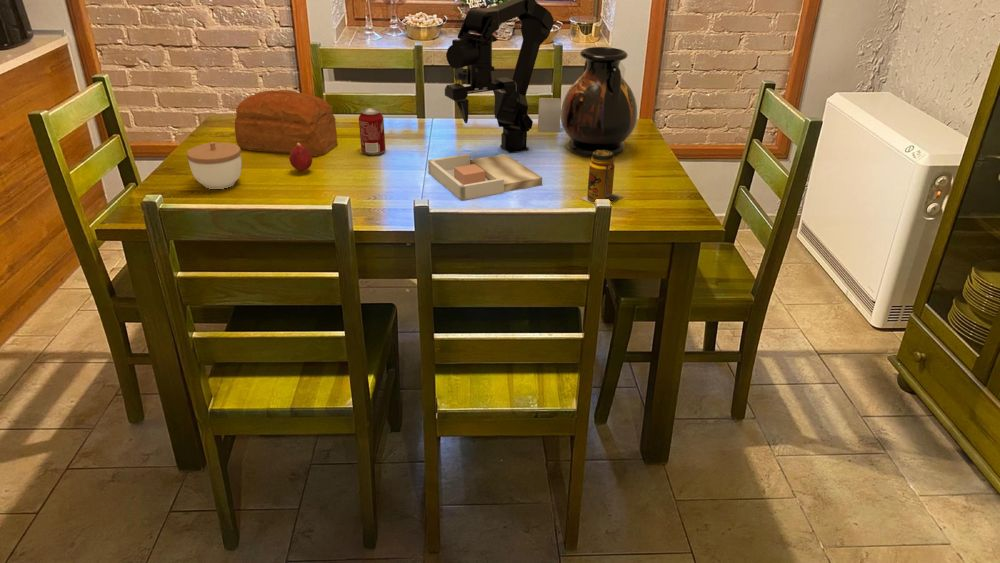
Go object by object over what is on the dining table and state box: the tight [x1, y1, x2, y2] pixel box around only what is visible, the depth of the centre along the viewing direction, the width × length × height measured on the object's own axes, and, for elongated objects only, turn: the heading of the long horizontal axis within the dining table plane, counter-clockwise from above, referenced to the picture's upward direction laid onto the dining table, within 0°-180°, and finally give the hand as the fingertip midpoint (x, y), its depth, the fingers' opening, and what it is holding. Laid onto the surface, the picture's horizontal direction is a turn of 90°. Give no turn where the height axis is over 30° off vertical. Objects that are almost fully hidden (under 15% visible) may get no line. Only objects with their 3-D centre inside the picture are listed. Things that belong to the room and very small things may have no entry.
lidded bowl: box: [186, 141, 243, 190], centre depth 183 cm, size 13×13×11 cm
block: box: [454, 164, 485, 185], centre depth 189 cm, size 6×6×3 cm
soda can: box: [358, 107, 386, 156], centre depth 206 cm, size 7×7×12 cm
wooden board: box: [470, 153, 543, 193], centre depth 194 cm, size 11×20×2 cm, turn 27°
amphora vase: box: [560, 46, 638, 158], centre depth 207 cm, size 22×22×28 cm
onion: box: [289, 143, 313, 173], centre depth 193 cm, size 6×6×8 cm
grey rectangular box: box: [537, 97, 562, 133], centre depth 227 cm, size 4×7×10 cm, turn 87°
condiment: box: [580, 150, 624, 204], centre depth 179 cm, size 7×8×12 cm
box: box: [427, 153, 505, 201], centre depth 189 cm, size 12×21×4 cm, turn 27°
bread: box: [234, 89, 338, 157], centre depth 209 cm, size 16×27×16 cm, turn 76°
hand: (481, 120), depth 197 cm, fingers open, 9 cm apart
